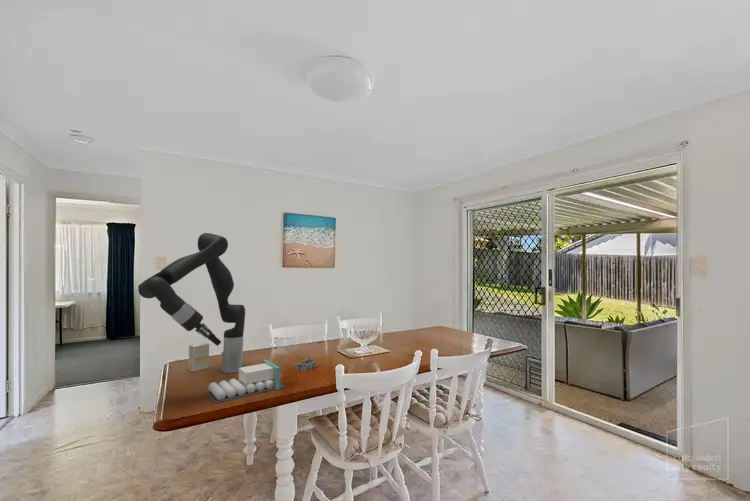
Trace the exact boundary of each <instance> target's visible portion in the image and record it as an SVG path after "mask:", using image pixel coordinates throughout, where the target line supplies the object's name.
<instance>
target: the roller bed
mask: <svg viewBox="0 0 750 501" xmlns="http://www.w3.org/2000/svg"><path fill="white" fill-rule="evenodd" d="M284 388H286V386H285V385H283V384H282V383H280V382H279V390H280V389H284ZM271 391H276V390H275V378H273V379H268V380H263V381H258V382H253V383H248V384H245V383H244V382H243V381H241V380H240V379H239V378H238V379H236V378H231V379H229V381H227V380H221V381H220V382H218V383H217V382H211V383H209V385H208V390H207V391H205V394H206V395H207V396H208V397H209V398H210V400H211V401H212V402H213V403H214V404H219V403H223V402H227V401H231V400H237V399H241V398H245V397H250V396H253V395H258V394H262V393H266V392H271Z"/></svg>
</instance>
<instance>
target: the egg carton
mask: <svg viewBox="0 0 750 501" xmlns="http://www.w3.org/2000/svg"><path fill="white" fill-rule="evenodd" d="M295 365H296V366H295V369H296V370H300V371H303V372H304V371H307V370H311V369H313V368H317V361H316V360H313V359H312V358H310V357H307V358H305V359H304V360H301V361H299V362H297V363H295Z"/></svg>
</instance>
